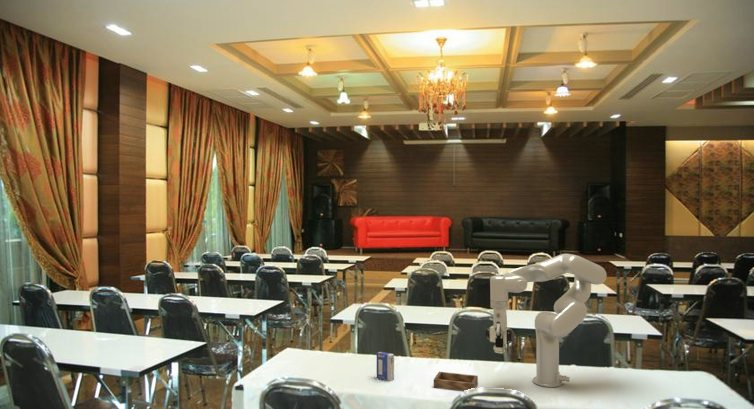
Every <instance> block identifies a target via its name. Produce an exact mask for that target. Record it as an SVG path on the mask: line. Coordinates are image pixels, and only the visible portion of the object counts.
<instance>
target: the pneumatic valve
mask: <svg viewBox="0 0 754 409" xmlns="http://www.w3.org/2000/svg"><path fill="white" fill-rule="evenodd" d="M512 328H513V327H508V326H507V328H506V331H505V332H504V331H502V338H503V348H499V347H495V344H494V345H493V351H494V353H497V354H504V353H506V352H507V351H508V350H507V349H508V348H507V346H506V345H510V344H511V343H513V342H514V340H515V338H516V334H515V332H514V331H513V329H512ZM495 329H496V328H495ZM500 331H501V330H500ZM485 338H487V340H488V342H490V343H495V338H496V330H495V331H494V324H492V325H491V326H489V327H487V328H486V330H485Z"/></svg>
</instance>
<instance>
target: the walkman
mask: <svg viewBox="0 0 754 409" xmlns="http://www.w3.org/2000/svg"><path fill="white" fill-rule="evenodd" d="M376 379H379V380H382V381H388V382H393V381H394V380H395V354H393V353H390V352H384V351H378V352H376Z"/></svg>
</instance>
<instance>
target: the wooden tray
mask: <svg viewBox="0 0 754 409" xmlns="http://www.w3.org/2000/svg"><path fill="white" fill-rule="evenodd" d="M478 379H479V378H478V375H476V374H465V373H456V372H455V373H454V372H448V371H447V372H446V371H438V373H437V375H435V377H434V378H433V388H435V389H443V390H451V391H452V390H453V391H459V392H460V391H461V392H465V391H464V390H468V389H471V388H475V387H476V388H477V386H478V383H479V380H478ZM476 388H475V389H476Z"/></svg>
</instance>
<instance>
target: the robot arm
mask: <svg viewBox="0 0 754 409" xmlns="http://www.w3.org/2000/svg"><path fill="white" fill-rule="evenodd" d="M564 274H565V275H566V274H569V275H570V274H571V275H573V276H574V282H573V284H572V286H571V287H570V288H569V289H568V290H567V291H566V292H564V294H563V295H561V297H559V298H558V299H557V300H556V301H555V302H554V305H553V311H554V312H555V313H554V312H551V311H547V310H544V311H540V312H538V313H537V314H536V315H535V318H534V329H535V337H536V349H535V350H536V358H535V359H536V368H535V369H536V371H535V372H536V373H535V374H536V376H534V377H532V382H533V383H534V384H535V385H538V386H540V387H545V388H558V387H562V385H563V382H567V383H569V382H570V380H571V378H570V376H567V375H562V374H560V341H559V339H562V338H565V337H567V336H568V335H569V334H570V333H572V332H573V331H574V329H575V328H577V327H578V326H579V325H580V324H581V323H582V322H583V321H584V320H585V319H586V316H587V314H588V309H587V306H586V302H587V301H588V300H589V298H590V296H591V293H592V285H596V286H597V285H601V284H603V283H605V281H606V280H607V276H608V275H607V272H606V270H605V268H604V267H602V266H601V265H599V264H597V263H595V262H592V261H590V260H588V259H586V258H584V257H582V256H580V255H576V254H571V253H562V254H559V255H556V256H552V258H548V259H545V260H544V261H541V262H538V263H533V264H529V265H524V266H520V267H518V268H515V269H512V270H510V271H507V272H505V273H504V274H503V275H499V274H498V275H492V276H491V277H490V278H489V282H490V283H489V286H490V288H489V289H490V308H491V309H492V313H493V314H492V316H493V317H492V318H493V325H494V331H495V330H496V338H495V342H494V343H495V344H494V345H495V347H499V348H503V338H502V331H504V332H505V331H506V328H507V327H508V316H507V309H509V293H515V294H518V293H522V292H525V291H526V290H527V287H528V283H531V282H540V283H541V282H547V281H550V280H553V279H555V278H557V277H561V276H563V275H564ZM495 328H496V329H495ZM500 330H501V331H500Z"/></svg>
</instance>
